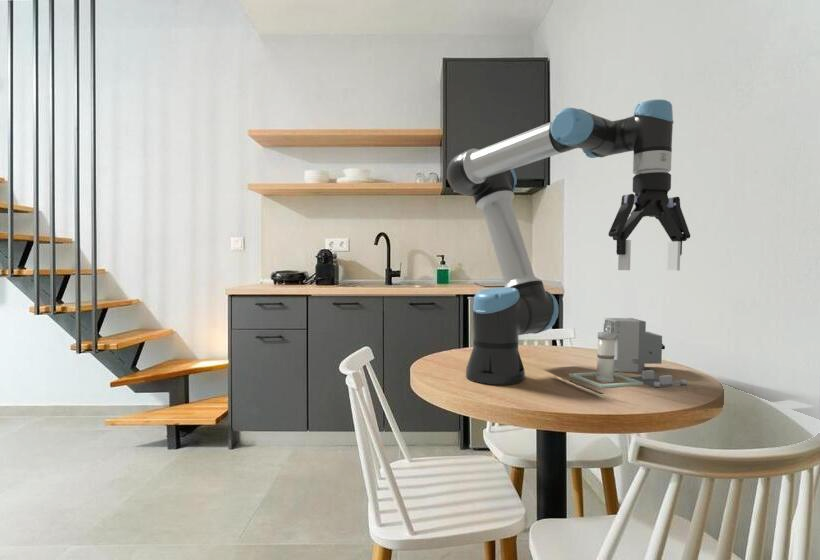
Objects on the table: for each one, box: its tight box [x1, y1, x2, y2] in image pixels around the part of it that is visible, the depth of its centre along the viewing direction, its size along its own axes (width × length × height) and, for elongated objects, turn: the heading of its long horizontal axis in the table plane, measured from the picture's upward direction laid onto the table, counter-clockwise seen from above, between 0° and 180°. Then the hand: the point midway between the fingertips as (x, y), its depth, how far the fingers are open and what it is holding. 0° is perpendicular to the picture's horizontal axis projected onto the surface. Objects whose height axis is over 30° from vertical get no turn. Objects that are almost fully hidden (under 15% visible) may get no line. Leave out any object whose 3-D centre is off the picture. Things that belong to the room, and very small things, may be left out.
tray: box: [568, 371, 644, 395], centre depth 115 cm, size 12×12×2 cm
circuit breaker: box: [602, 317, 666, 373], centre depth 128 cm, size 8×14×15 cm, turn 89°
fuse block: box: [628, 369, 690, 389], centre depth 114 cm, size 10×10×4 cm
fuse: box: [595, 331, 616, 383], centre depth 115 cm, size 4×4×12 cm
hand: (649, 270), depth 104 cm, fingers open, 13 cm apart
